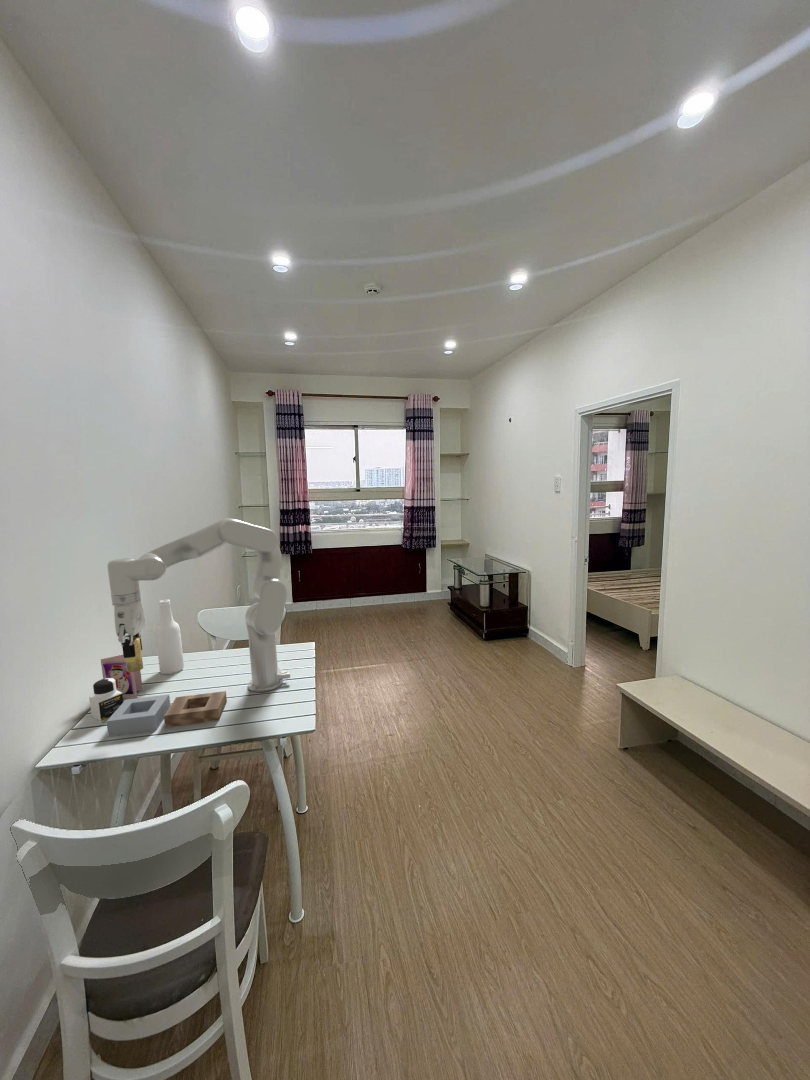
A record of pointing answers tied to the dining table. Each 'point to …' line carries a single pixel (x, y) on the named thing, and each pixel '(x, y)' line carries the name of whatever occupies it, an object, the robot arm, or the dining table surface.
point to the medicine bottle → (105, 699)
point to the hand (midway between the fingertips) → (133, 653)
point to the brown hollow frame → (195, 709)
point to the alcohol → (168, 641)
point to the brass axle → (135, 662)
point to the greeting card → (122, 676)
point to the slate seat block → (138, 715)
